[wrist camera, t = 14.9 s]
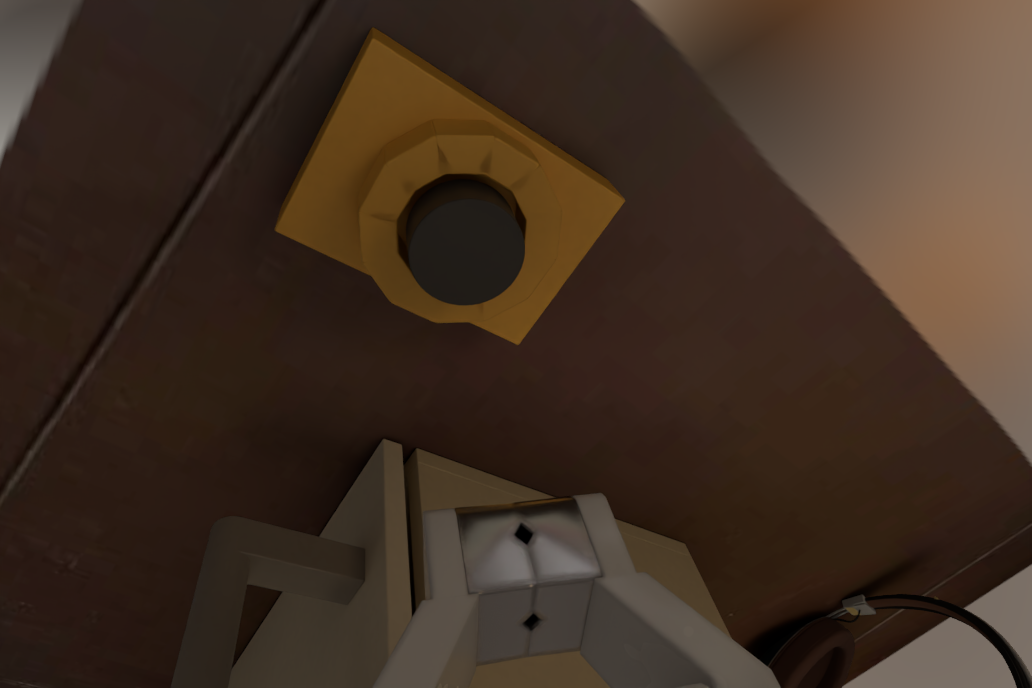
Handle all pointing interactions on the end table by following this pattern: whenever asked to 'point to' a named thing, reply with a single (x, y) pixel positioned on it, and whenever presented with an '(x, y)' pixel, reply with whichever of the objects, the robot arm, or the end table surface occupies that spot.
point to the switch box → (426, 163)
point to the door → (306, 593)
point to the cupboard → (447, 484)
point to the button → (464, 242)
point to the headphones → (830, 647)
